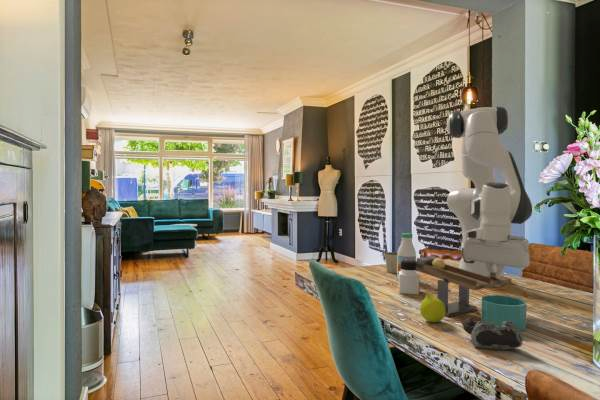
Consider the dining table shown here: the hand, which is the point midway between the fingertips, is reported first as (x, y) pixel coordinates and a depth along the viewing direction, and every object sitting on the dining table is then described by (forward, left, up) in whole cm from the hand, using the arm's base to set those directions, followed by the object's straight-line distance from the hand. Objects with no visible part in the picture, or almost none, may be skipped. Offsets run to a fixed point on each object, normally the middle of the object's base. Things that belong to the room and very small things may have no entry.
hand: (494, 278), depth 128 cm
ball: (+10, -14, +3) cm, 17 cm away
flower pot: (-19, -62, -11) cm, 65 cm away
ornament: (+25, -4, -11) cm, 27 cm away
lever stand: (+10, -8, -11) cm, 16 cm away
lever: (+4, -9, -1) cm, 10 cm away
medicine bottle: (+4, -32, -11) cm, 34 cm away
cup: (+10, +9, -11) cm, 17 cm away
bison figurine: (+26, +16, -11) cm, 33 cm away
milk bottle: (-10, -46, -11) cm, 48 cm away
